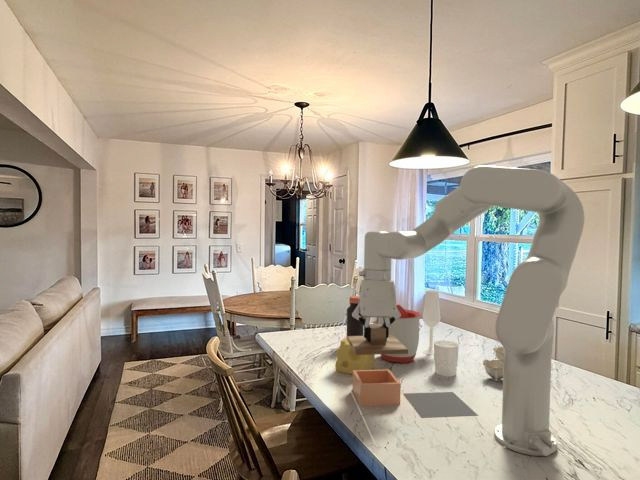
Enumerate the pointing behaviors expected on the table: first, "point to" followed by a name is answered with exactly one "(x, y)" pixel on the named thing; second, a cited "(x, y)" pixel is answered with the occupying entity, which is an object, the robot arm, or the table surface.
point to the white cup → (446, 357)
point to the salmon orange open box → (376, 387)
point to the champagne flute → (431, 315)
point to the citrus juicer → (404, 334)
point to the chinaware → (495, 365)
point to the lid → (376, 343)
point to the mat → (439, 405)
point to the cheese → (352, 359)
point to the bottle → (354, 319)
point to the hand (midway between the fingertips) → (376, 339)
